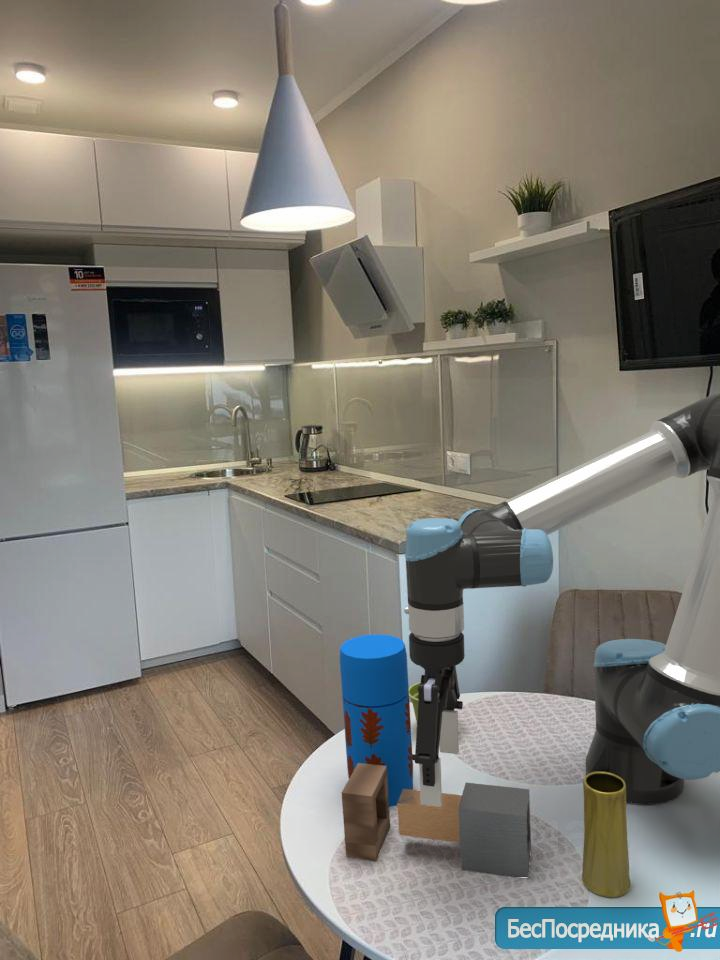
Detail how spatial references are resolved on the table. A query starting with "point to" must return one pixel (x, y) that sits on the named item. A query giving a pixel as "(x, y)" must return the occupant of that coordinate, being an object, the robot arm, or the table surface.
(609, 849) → the vase
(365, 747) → the thermos
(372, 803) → the socket block
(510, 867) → the sleeve
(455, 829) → the rectangular peg
